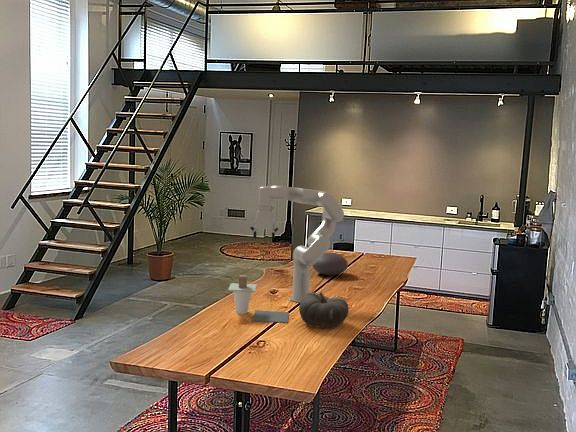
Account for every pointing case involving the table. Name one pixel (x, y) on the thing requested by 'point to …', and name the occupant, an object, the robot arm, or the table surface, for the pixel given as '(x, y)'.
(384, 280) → the table surface
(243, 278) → the lid
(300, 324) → the table surface
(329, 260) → the smooth stone
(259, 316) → the mat
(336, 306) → the gourd
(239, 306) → the foam cup
